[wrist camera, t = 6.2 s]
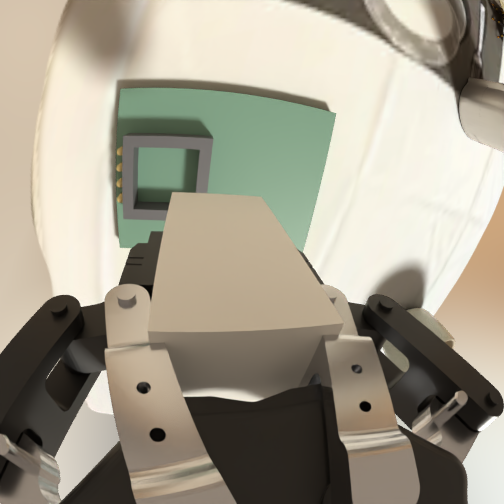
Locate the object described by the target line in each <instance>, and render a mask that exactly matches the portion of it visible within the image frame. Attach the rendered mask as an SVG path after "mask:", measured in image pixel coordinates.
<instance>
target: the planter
mask: <svg viewBox="0 0 504 504" xmlns="http://www.w3.org/2000/svg"><path fill="white" fill-rule="evenodd" d="M406 311H408V312H409V313H410V314H411V315H412V316H414V317H415V318H416V319H417V320H419V321H420V322H421V323H422V324H423V325H425V326H426V327H427V328H428V329H430V330H431V331H432V332H433V333H434V334H435V335H437V336H438V337H439V338H440V339H441V340H443V341H444V342H445V343H446V344H447V345H448V346H450V347H451V348H452V349H453V348H454V346H455V340H454V338H453V337H452V336H451V334H450V333H449V332H448V331H447V330H446V329H445V327H443V325H442V324H441V323H440V322H439V321H438V320H437V319H436V318H435V317H434V316H433V315H432V314H430V313H429V312H428V311H426V310H425V309H422V308H413V309H409V310H406ZM382 347H383V350H384V353H385V355H386V357H388V358H389V359H390V360H391V361H392V362H393V363H394V364H395V365H396V366H397V367H398V368H399V369H400V370H402V371H403V372H406V371H407V370H408V368H409V361H408V359H407V358H406V356H404V355H403V354H402V353H401V352H400V351H399V350H398V349H397V348H396V347H394V346H393V345H392V344H391V343H390V342H389V341H388V340H386V342H385V343H384V345H383V346H382Z"/></svg>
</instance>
